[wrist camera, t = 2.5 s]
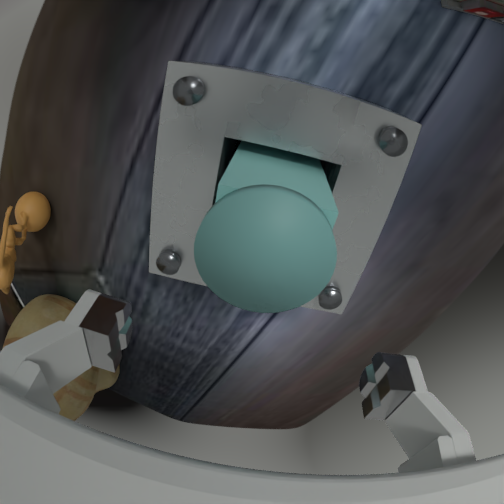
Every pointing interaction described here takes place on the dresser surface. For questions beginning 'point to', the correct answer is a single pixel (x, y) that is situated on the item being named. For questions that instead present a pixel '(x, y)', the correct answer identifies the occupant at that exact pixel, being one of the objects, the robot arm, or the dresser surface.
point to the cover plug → (268, 231)
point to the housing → (278, 136)
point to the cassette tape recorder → (478, 8)
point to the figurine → (29, 219)
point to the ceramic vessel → (82, 387)
